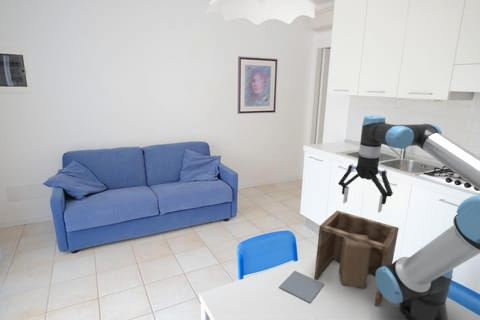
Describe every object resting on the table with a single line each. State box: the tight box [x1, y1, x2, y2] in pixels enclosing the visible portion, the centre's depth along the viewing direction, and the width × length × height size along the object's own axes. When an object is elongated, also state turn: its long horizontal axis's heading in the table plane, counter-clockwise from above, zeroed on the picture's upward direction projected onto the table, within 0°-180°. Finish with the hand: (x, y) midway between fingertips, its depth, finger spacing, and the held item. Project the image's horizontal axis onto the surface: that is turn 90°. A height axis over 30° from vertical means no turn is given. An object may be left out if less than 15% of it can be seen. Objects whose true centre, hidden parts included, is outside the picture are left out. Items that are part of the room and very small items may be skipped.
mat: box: [278, 270, 325, 304], centre depth 122 cm, size 14×14×1 cm
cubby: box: [313, 210, 400, 308], centre depth 123 cm, size 26×20×26 cm
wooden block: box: [338, 234, 372, 289], centre depth 124 cm, size 10×10×20 cm
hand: (361, 206), depth 118 cm, fingers open, 13 cm apart
